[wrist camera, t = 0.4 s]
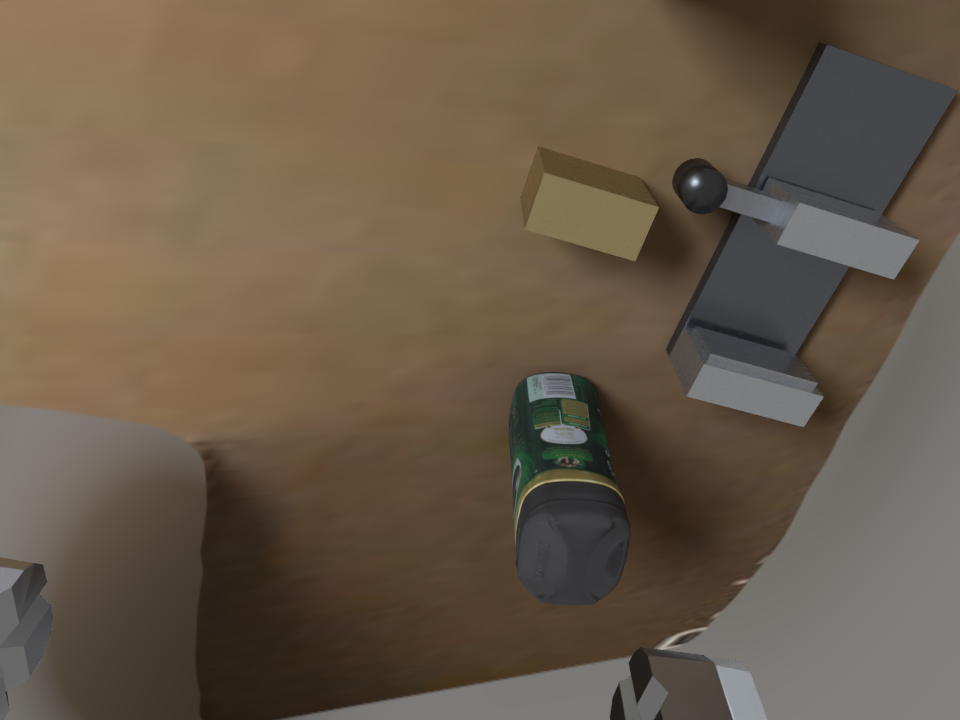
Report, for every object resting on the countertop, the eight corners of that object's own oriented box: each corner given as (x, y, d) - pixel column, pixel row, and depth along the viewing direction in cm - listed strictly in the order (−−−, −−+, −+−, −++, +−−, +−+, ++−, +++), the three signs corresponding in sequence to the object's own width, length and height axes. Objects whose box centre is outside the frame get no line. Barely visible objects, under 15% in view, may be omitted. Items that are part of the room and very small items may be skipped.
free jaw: (679, 149, 49) (701, 171, 44) (878, 212, 52) (919, 240, 47) (662, 189, 51) (681, 215, 46) (856, 248, 53) (893, 279, 48)
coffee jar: (589, 456, 65) (622, 621, 49) (505, 452, 65) (511, 616, 49) (604, 368, 60) (646, 520, 44) (513, 364, 60) (522, 515, 44)
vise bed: (819, 42, 47) (869, 57, 41) (947, 87, 48) (1015, 108, 42) (665, 349, 59) (686, 396, 53) (771, 378, 61) (803, 427, 55)
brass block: (537, 145, 51) (544, 172, 45) (639, 177, 52) (659, 207, 46) (520, 197, 53) (524, 229, 47) (618, 226, 54) (635, 261, 48)
